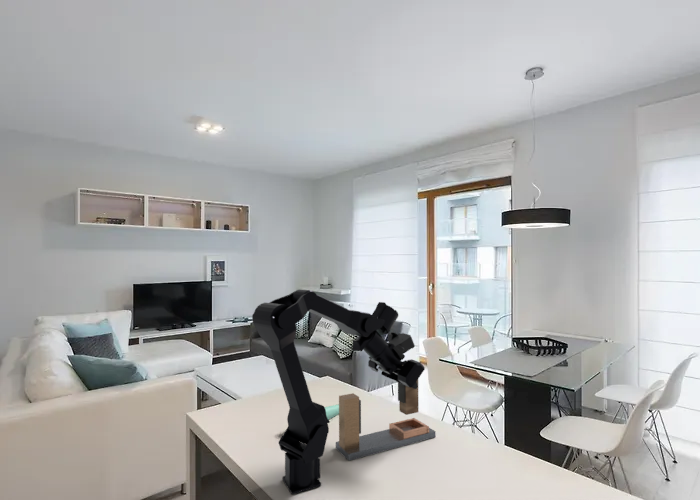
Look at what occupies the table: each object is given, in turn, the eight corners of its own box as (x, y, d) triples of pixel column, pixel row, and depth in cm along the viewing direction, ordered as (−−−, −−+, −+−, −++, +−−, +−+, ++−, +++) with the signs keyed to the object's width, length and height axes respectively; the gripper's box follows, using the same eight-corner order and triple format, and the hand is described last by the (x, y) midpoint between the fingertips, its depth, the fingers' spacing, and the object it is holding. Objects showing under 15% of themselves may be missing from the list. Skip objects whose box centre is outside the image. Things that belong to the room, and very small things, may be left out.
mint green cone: (360, 390, 126) (303, 416, 104) (360, 407, 125) (303, 437, 104) (346, 386, 129) (289, 412, 107) (346, 403, 129) (289, 432, 107)
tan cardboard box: (404, 415, 101) (403, 368, 101) (397, 411, 103) (397, 365, 104) (418, 412, 103) (418, 366, 103) (411, 408, 105) (411, 363, 106)
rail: (348, 460, 91) (348, 402, 91) (335, 448, 97) (335, 393, 97) (435, 437, 103) (434, 385, 103) (419, 427, 109) (418, 378, 109)
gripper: (417, 329, 94) (453, 369, 99) (377, 320, 110) (409, 354, 115) (391, 366, 90) (429, 406, 95) (353, 350, 107) (387, 385, 111)
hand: (412, 385), depth 104 cm, fingers closed on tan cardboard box, 3 cm apart
